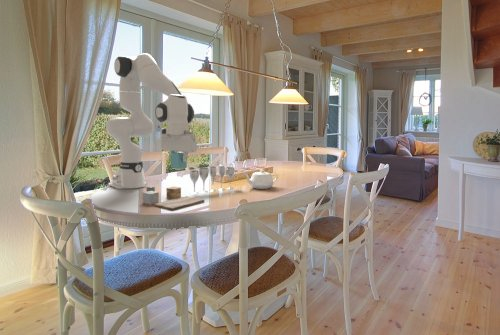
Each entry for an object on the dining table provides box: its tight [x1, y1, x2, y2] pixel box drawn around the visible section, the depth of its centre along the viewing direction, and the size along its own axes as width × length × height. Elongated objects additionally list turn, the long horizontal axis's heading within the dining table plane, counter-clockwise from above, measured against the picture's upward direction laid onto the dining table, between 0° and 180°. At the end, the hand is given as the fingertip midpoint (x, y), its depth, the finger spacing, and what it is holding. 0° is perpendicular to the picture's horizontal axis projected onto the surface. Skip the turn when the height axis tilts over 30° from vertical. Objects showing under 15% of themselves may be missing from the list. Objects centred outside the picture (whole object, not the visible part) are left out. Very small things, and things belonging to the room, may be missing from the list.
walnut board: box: [153, 195, 205, 211], centre depth 161 cm, size 12×20×1 cm, turn 144°
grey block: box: [142, 190, 160, 205], centre depth 162 cm, size 5×5×5 cm
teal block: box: [170, 151, 188, 170], centre depth 158 cm, size 5×5×7 cm
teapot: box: [243, 168, 279, 190], centre depth 201 cm, size 22×14×11 cm, turn 112°
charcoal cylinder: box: [145, 186, 156, 192], centre depth 173 cm, size 4×4×5 cm
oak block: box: [165, 186, 182, 200], centre depth 173 cm, size 5×5×5 cm
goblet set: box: [189, 165, 236, 195], centre depth 191 cm, size 28×6×13 cm, turn 127°
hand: (178, 161), depth 158 cm, fingers closed on teal block, 5 cm apart
